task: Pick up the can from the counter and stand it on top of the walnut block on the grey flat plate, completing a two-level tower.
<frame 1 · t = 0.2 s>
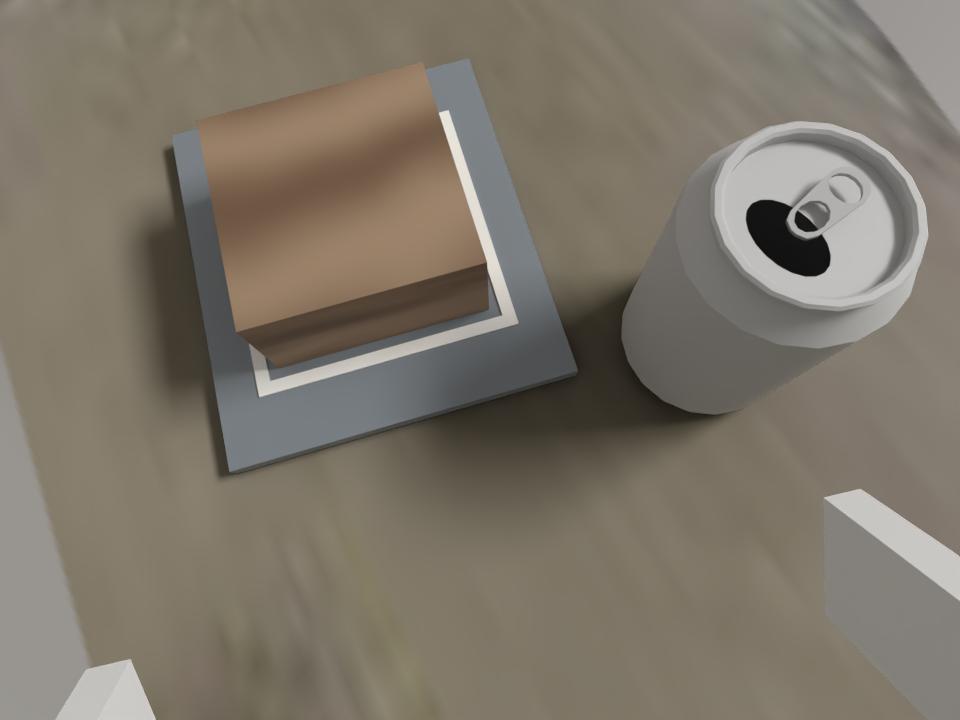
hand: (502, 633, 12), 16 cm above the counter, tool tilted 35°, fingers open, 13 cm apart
can: (696, 341, 30), on the counter
grey flat plate: (364, 252, 32), on the counter
walnut block: (360, 244, 31), point 1 cm above the counter, touching grey flat plate
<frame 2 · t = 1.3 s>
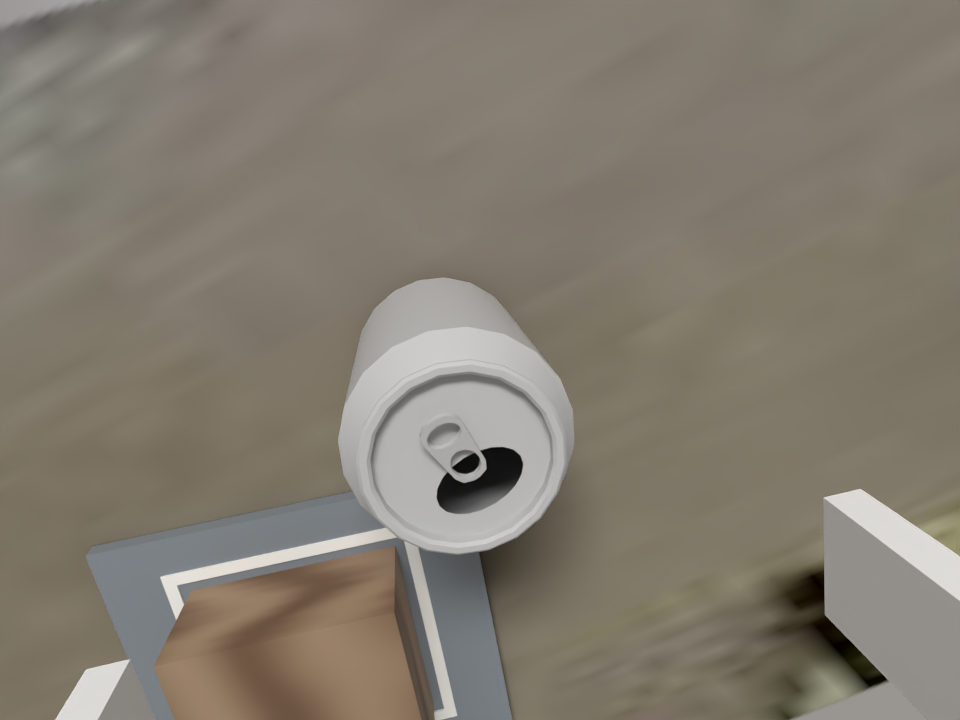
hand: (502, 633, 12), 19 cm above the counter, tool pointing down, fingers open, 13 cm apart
can: (439, 352, 30), on the counter
grey flat plate: (320, 639, 33), on the counter
walnut block: (319, 650, 33), point 1 cm above the counter, touching grey flat plate
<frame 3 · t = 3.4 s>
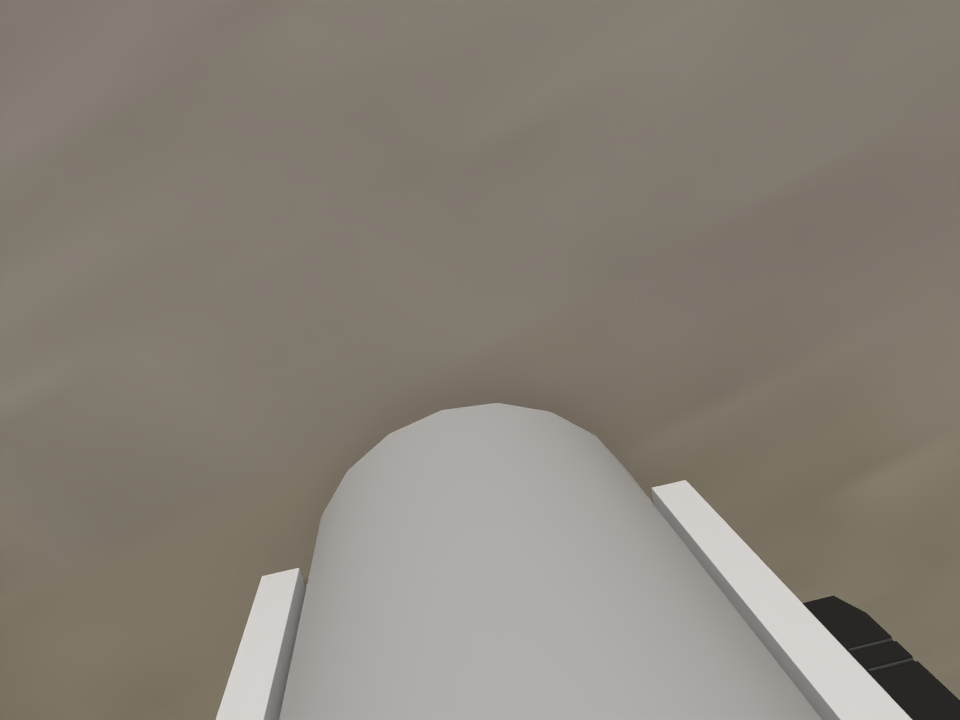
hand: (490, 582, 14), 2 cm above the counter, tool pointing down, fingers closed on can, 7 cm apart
can: (479, 534, 15), on the counter, touching gripper
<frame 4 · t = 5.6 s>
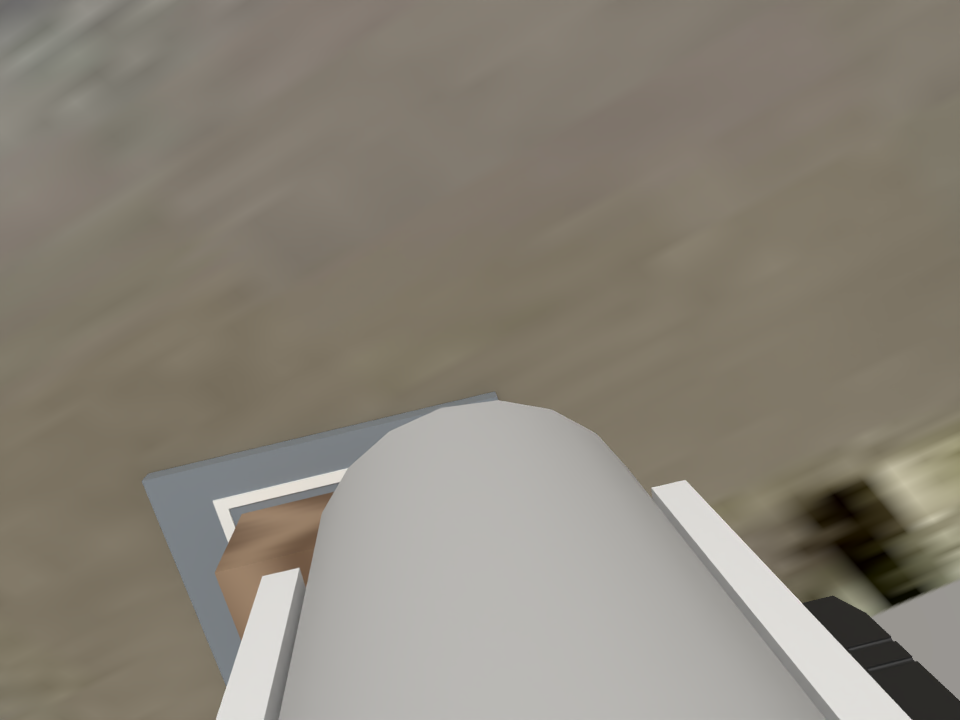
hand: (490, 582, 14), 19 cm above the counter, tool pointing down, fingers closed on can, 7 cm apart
can: (479, 532, 15), point 18 cm above the counter, touching gripper
grey flat plate: (364, 562, 35), on the counter
walnut block: (363, 571, 34), point 1 cm above the counter, touching grey flat plate
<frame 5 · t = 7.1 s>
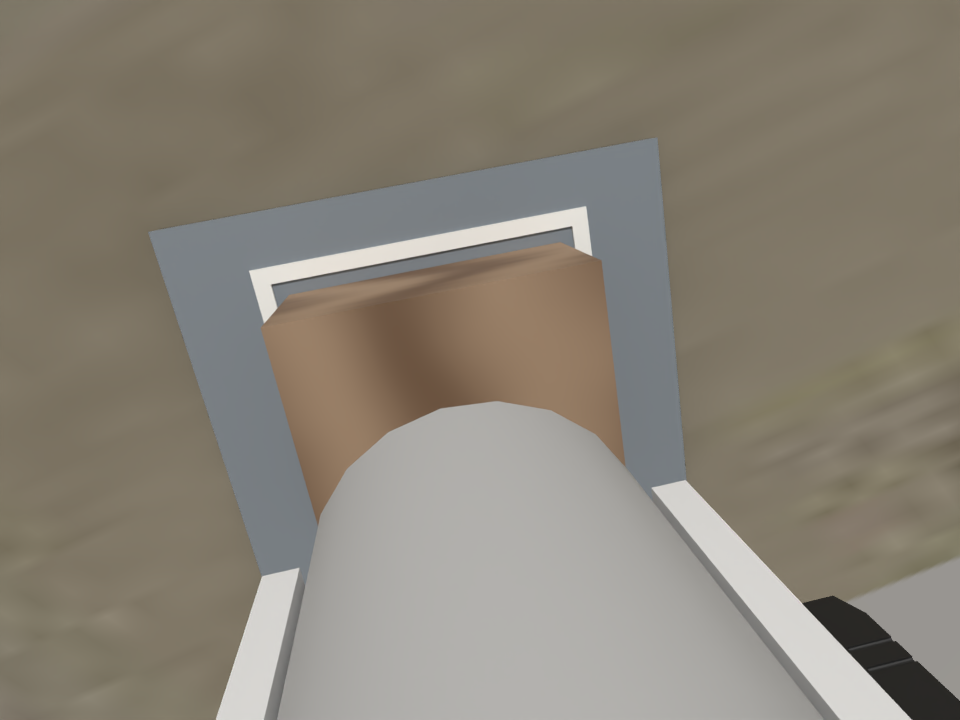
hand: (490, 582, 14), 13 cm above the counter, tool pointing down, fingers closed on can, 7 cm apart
can: (478, 533, 15), point 11 cm above the counter, touching gripper
grey flat plate: (450, 388, 25), on the counter
walnut block: (452, 395, 25), point 1 cm above the counter, touching grey flat plate
when the fingers open (9 cm above the counter, at t = 8.2 s): can drops 1 cm, resting on walnut block.
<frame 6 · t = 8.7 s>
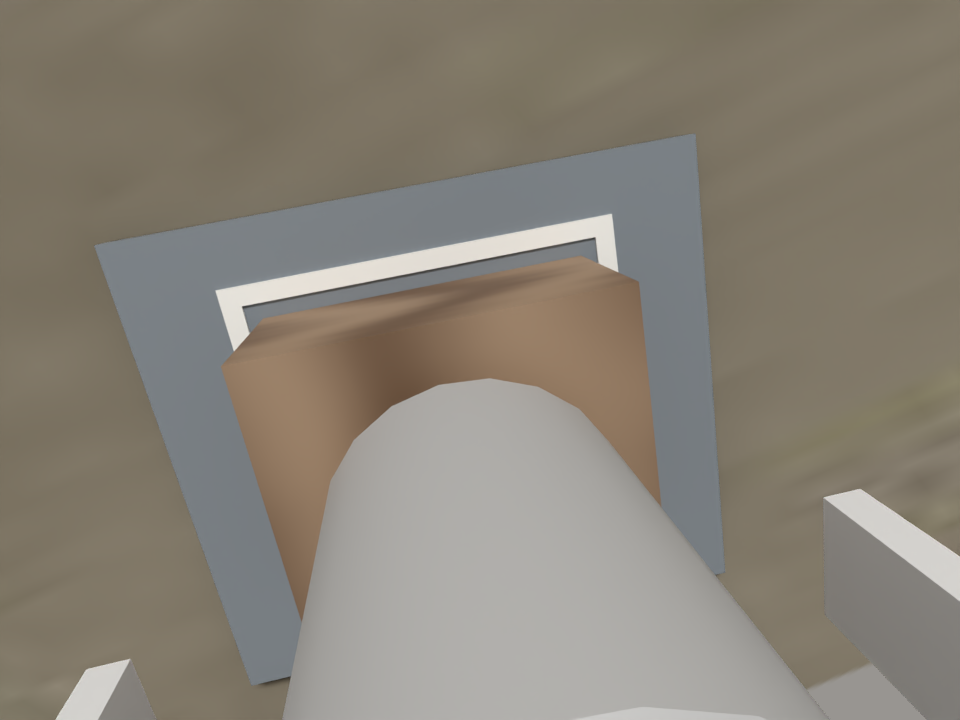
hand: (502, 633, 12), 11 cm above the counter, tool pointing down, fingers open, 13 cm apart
can: (473, 501, 17), point 6 cm above the counter, touching walnut block
grey flat plate: (452, 423, 22), on the counter
walnut block: (454, 432, 21), point 1 cm above the counter, touching grey flat plate, can
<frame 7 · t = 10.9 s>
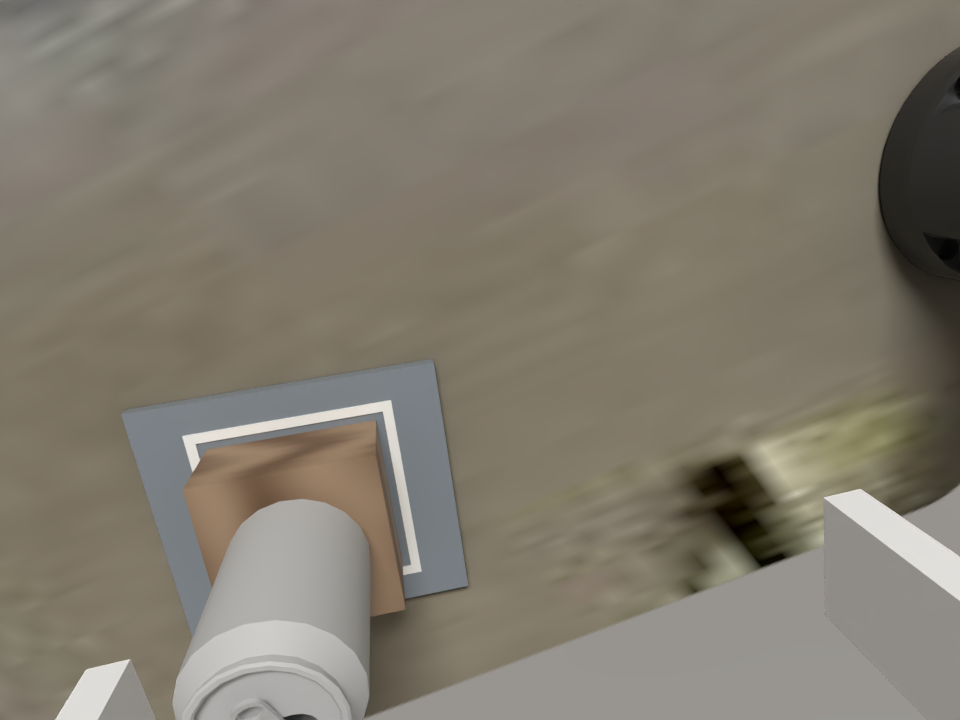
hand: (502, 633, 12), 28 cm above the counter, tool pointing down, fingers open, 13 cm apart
can: (302, 550, 35), point 6 cm above the counter, touching walnut block
grey flat plate: (310, 501, 40), on the counter
walnut block: (309, 507, 40), point 1 cm above the counter, touching grey flat plate, can
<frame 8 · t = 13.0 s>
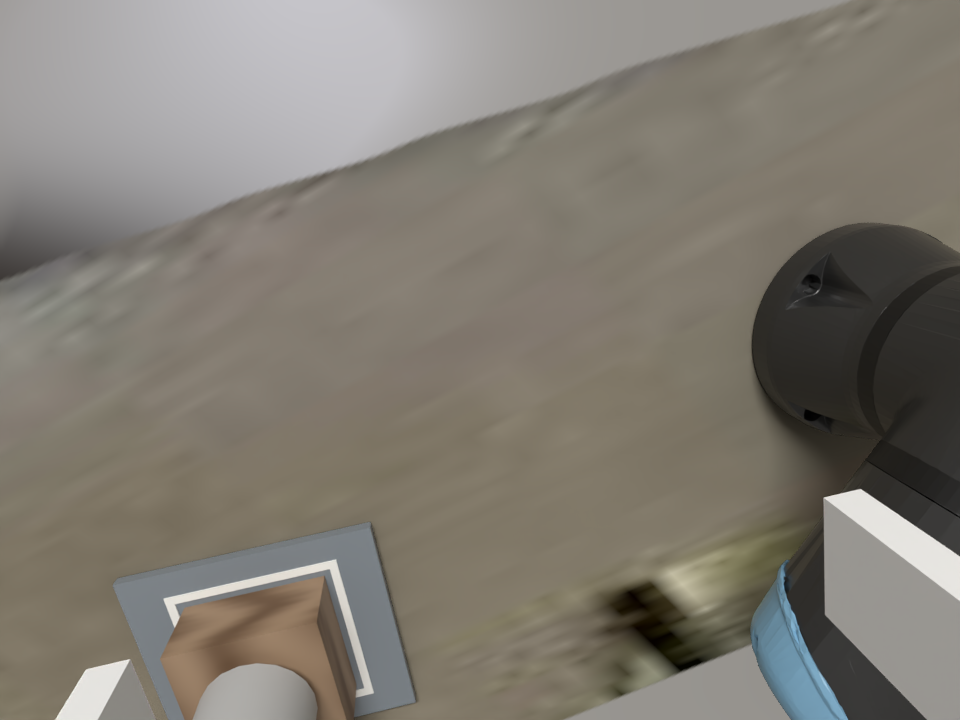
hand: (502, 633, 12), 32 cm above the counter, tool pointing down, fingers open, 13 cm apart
can: (261, 697, 43), point 6 cm above the counter, touching walnut block
grey flat plate: (275, 640, 48), on the counter
walnut block: (273, 647, 47), point 1 cm above the counter, touching grey flat plate, can
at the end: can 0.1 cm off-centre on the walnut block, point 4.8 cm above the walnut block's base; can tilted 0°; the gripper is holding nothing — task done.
